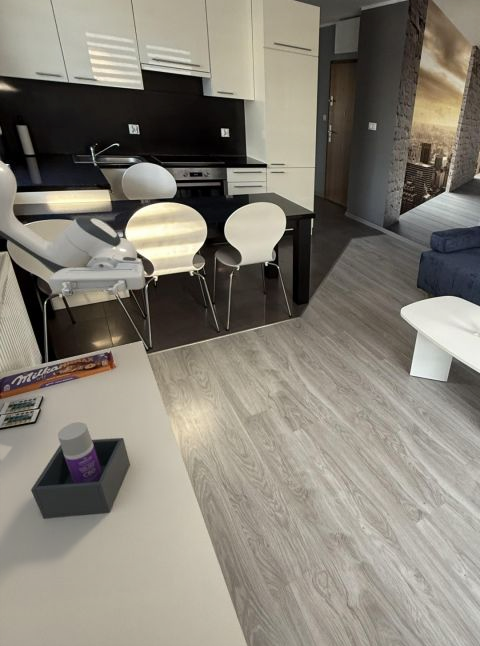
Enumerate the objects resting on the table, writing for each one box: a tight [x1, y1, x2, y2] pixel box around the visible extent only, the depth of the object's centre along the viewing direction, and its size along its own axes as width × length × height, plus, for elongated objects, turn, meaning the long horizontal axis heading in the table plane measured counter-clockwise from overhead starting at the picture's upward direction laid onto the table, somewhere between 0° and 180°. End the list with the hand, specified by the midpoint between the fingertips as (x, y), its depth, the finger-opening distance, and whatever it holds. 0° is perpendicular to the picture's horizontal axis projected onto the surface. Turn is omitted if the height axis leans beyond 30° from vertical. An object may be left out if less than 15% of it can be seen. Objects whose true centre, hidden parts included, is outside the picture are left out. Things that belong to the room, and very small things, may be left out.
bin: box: [30, 437, 131, 519], centre depth 78 cm, size 11×11×8 cm
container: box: [57, 421, 102, 483], centre depth 76 cm, size 5×5×15 cm
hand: (89, 292), depth 92 cm, fingers open, 8 cm apart
